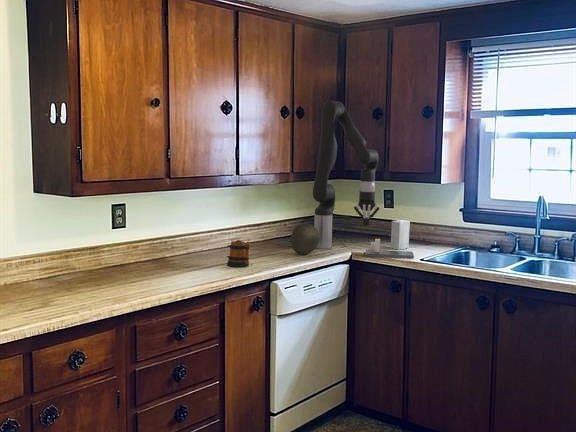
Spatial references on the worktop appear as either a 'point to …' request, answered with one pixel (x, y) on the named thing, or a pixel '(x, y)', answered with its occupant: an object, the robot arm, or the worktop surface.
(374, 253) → the console
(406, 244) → the skincare box
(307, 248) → the cantaloupe
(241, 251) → the mug
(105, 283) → the worktop surface
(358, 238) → the worktop surface
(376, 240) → the fader
